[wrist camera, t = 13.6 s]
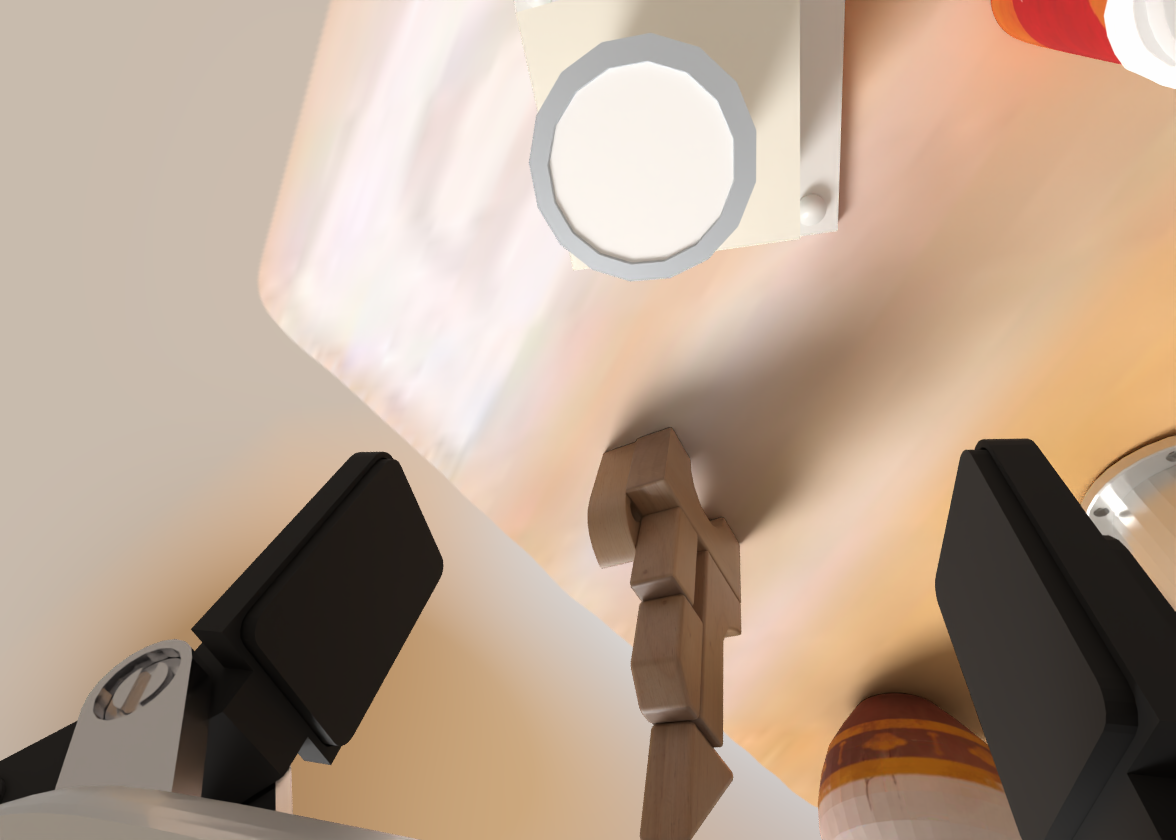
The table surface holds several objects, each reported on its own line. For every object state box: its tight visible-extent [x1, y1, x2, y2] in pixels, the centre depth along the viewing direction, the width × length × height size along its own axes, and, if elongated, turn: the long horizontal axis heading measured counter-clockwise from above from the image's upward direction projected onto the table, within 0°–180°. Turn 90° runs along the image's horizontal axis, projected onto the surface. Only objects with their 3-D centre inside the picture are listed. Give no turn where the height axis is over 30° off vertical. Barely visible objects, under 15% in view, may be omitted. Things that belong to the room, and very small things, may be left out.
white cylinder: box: [529, 33, 756, 281], centre depth 20 cm, size 7×7×7 cm
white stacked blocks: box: [514, 0, 845, 271], centre depth 27 cm, size 16×16×11 cm
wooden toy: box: [588, 428, 741, 840], centre depth 38 cm, size 15×7×25 cm, turn 31°
